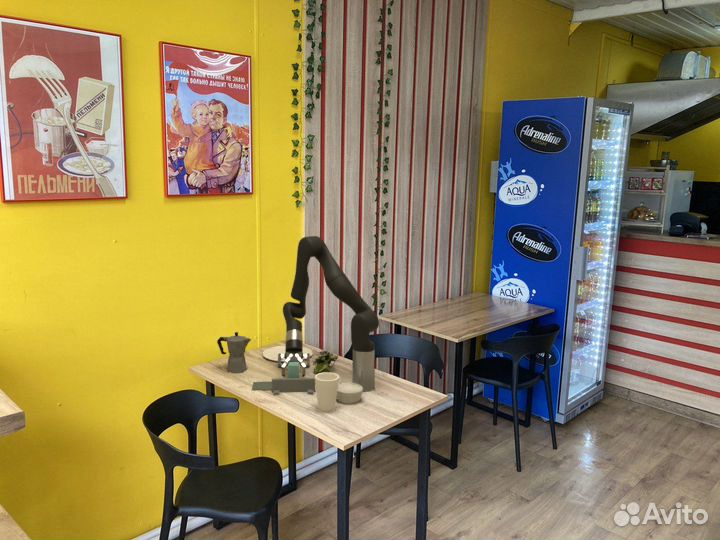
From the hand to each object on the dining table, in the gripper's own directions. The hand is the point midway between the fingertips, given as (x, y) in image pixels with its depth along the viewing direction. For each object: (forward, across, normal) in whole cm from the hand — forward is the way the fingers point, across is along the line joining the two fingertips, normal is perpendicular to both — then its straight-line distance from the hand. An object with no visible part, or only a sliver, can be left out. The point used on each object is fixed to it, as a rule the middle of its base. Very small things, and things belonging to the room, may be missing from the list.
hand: (293, 376), depth 239 cm
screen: (+8, 0, -1) cm, 8 cm away
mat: (+2, -13, +4) cm, 14 cm away
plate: (-26, -3, +34) cm, 43 cm away
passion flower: (-10, +15, +17) cm, 24 cm away
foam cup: (+19, +13, -12) cm, 26 cm away
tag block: (+2, 0, +4) cm, 5 cm away
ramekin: (+14, +22, -6) cm, 27 cm away
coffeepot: (-12, -27, +19) cm, 36 cm away
